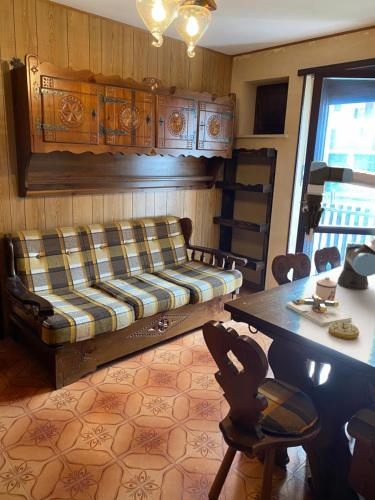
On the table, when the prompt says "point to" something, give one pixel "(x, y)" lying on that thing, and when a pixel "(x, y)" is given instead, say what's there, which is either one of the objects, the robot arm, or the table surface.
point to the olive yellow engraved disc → (344, 330)
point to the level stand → (319, 318)
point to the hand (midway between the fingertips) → (308, 241)
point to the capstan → (318, 303)
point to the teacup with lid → (326, 289)
